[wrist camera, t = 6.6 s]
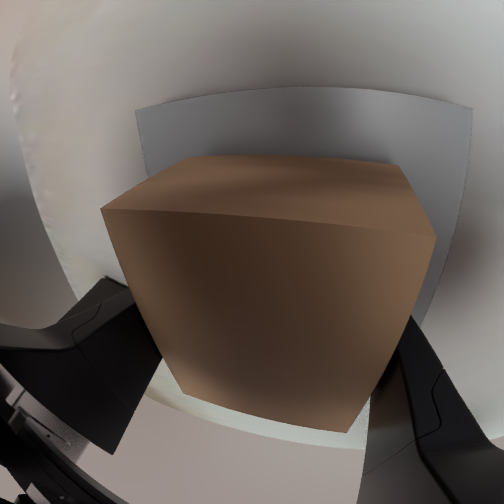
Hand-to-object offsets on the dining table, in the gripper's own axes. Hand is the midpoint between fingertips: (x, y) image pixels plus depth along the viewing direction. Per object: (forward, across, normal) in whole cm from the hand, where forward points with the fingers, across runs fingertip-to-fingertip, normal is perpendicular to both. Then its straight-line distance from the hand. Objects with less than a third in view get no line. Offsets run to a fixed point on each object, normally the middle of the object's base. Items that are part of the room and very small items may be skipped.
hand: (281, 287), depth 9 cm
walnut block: (+1, 0, 0) cm, 1 cm away
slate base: (+4, 0, 0) cm, 4 cm away
